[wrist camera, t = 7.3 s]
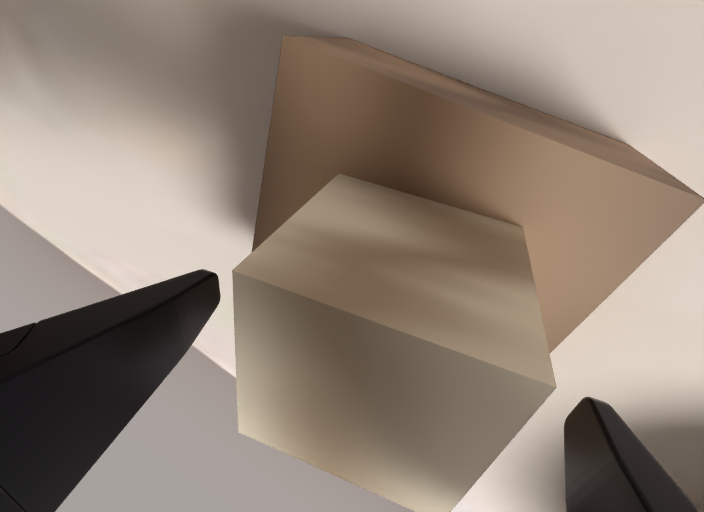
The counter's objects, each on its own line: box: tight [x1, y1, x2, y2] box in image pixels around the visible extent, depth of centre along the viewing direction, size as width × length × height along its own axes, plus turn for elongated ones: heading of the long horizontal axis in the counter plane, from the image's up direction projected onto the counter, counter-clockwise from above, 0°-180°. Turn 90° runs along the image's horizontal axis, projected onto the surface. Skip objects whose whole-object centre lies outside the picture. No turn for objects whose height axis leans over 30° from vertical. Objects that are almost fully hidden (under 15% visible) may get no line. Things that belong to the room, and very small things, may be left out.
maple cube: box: [232, 174, 556, 512], centre depth 9 cm, size 5×5×5 cm
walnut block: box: [252, 36, 704, 354], centre depth 13 cm, size 10×10×5 cm
